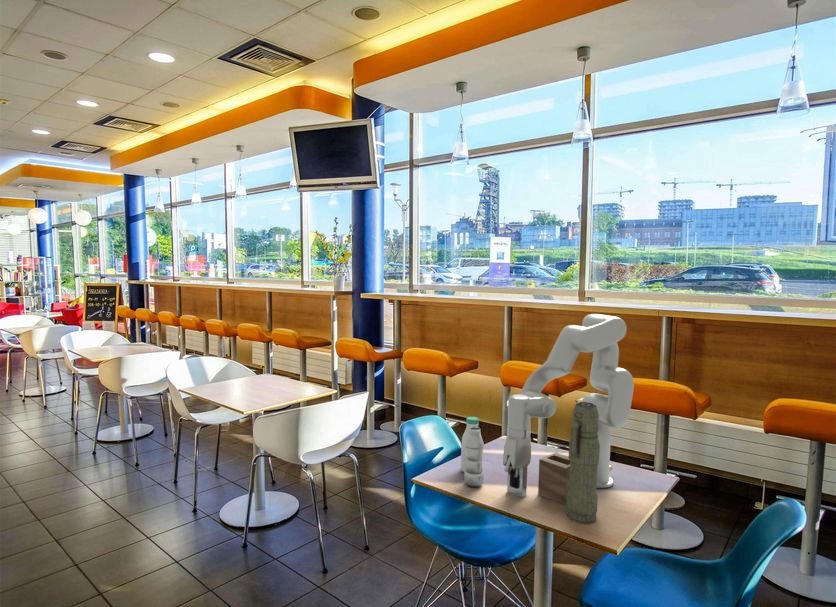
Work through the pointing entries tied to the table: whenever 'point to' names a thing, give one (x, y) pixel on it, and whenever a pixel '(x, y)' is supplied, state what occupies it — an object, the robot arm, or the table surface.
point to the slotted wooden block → (554, 477)
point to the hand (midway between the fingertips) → (516, 485)
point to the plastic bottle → (474, 458)
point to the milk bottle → (470, 423)
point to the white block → (522, 482)
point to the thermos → (583, 464)
